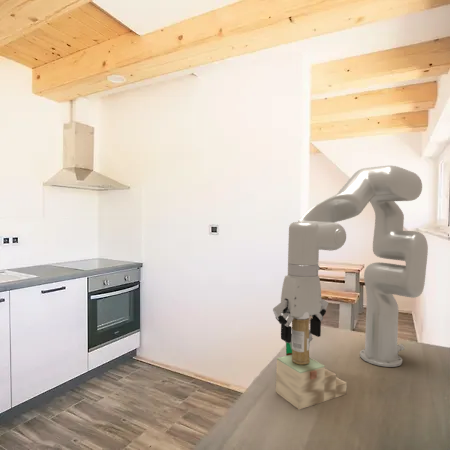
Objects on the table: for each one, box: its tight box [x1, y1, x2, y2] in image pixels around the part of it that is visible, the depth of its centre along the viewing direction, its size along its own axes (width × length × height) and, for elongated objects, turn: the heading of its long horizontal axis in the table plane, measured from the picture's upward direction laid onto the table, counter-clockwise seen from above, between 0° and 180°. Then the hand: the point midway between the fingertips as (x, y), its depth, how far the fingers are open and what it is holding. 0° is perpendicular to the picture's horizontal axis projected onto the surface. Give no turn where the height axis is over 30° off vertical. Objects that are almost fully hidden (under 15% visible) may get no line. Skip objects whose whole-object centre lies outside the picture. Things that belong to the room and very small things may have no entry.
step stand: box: [275, 355, 348, 410], centre depth 88 cm, size 16×10×9 cm, turn 119°
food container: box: [284, 329, 313, 356], centre depth 106 cm, size 12×6×10 cm, turn 148°
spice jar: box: [291, 312, 311, 365], centre depth 86 cm, size 5×5×13 cm
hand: (300, 337), depth 86 cm, fingers open, 9 cm apart
